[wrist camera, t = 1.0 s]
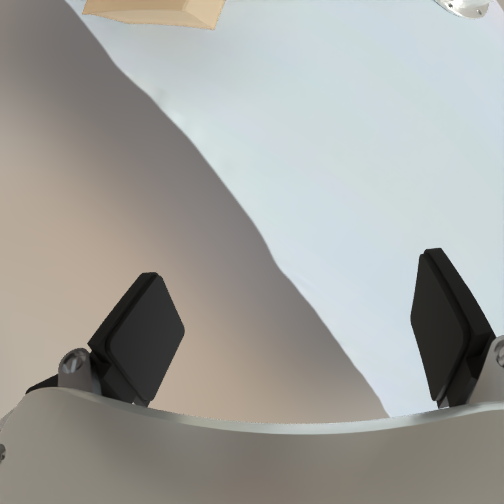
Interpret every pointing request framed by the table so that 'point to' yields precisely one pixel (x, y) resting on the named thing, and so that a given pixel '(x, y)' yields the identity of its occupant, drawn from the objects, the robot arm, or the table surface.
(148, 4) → the flap
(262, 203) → the table surface
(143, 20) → the carton
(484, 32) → the table surface
